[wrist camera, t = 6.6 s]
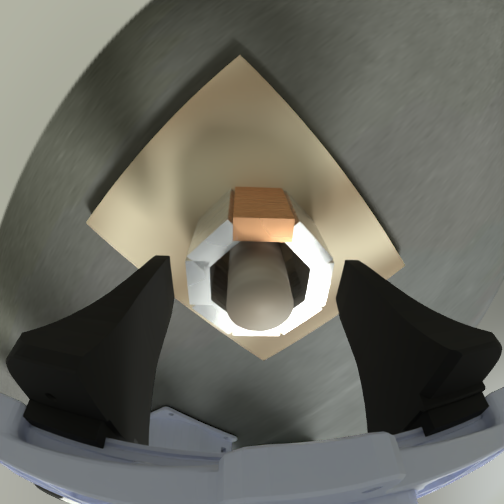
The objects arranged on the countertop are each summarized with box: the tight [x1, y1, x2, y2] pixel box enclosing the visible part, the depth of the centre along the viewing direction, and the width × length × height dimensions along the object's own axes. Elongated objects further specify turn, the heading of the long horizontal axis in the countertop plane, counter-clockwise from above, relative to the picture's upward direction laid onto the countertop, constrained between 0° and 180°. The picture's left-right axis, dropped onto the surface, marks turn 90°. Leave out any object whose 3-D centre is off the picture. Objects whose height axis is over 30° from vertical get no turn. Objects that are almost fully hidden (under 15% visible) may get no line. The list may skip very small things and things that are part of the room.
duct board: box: [86, 55, 405, 361], centre depth 13 cm, size 14×11×6 cm
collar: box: [185, 187, 334, 336], centre depth 13 cm, size 6×6×4 cm
